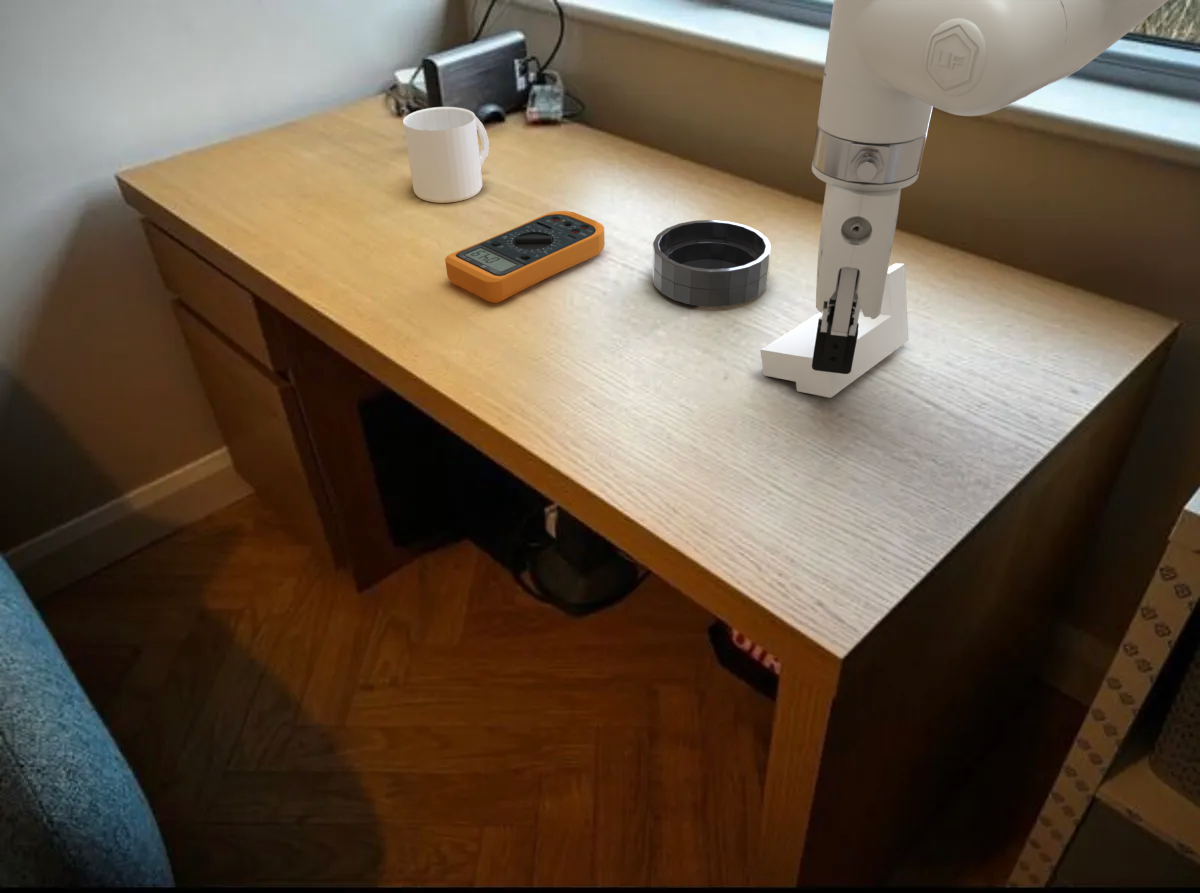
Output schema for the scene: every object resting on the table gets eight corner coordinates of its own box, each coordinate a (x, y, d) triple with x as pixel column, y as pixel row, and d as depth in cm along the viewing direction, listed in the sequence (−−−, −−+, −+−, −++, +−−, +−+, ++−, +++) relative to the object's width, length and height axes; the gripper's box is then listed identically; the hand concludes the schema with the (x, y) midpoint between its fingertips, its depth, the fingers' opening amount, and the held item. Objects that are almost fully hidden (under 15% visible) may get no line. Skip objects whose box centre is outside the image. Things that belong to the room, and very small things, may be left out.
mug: (436, 209, 114) (426, 135, 108) (401, 188, 119) (389, 117, 114) (514, 184, 120) (508, 113, 114) (477, 166, 125) (470, 97, 119)
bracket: (843, 331, 90) (837, 259, 87) (908, 340, 85) (904, 263, 82) (765, 384, 83) (754, 308, 80) (830, 397, 78) (822, 316, 75)
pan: (773, 263, 100) (777, 225, 97) (758, 317, 91) (762, 277, 88) (665, 252, 103) (666, 215, 100) (641, 303, 94) (641, 264, 91)
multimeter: (614, 252, 103) (613, 224, 101) (494, 310, 93) (491, 280, 91) (562, 231, 108) (561, 203, 106) (443, 283, 98) (439, 254, 96)
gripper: (924, 197, 58) (875, 425, 69) (920, 120, 69) (878, 327, 80) (805, 188, 59) (777, 412, 71) (820, 114, 71) (793, 318, 82)
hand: (831, 366), depth 76 cm, fingers closed
